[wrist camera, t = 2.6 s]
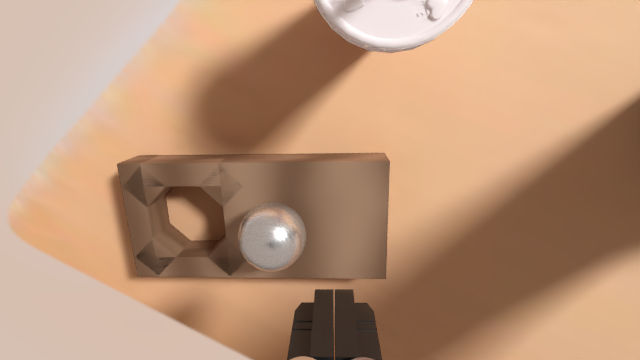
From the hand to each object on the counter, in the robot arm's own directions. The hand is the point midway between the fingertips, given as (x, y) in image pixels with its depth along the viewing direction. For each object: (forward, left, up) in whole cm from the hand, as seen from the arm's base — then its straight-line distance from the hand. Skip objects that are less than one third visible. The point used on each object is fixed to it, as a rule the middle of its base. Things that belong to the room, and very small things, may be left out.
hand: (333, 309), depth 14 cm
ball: (+4, 0, -7) cm, 8 cm away
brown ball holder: (+5, 0, -12) cm, 13 cm away
